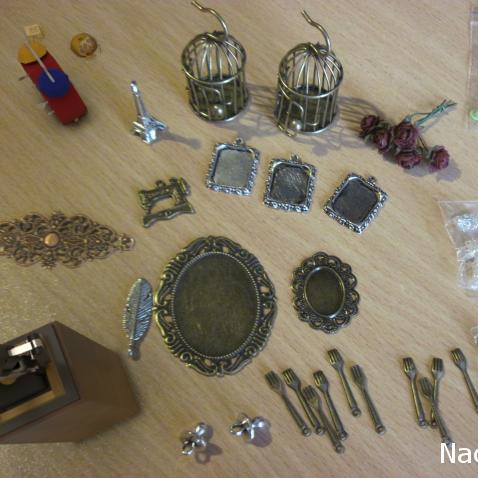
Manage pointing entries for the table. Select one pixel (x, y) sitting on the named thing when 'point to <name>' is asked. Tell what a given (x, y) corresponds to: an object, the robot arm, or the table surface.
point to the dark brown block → (20, 388)
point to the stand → (70, 392)
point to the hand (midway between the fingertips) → (17, 377)
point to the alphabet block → (33, 33)
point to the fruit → (85, 47)
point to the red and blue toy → (51, 82)
